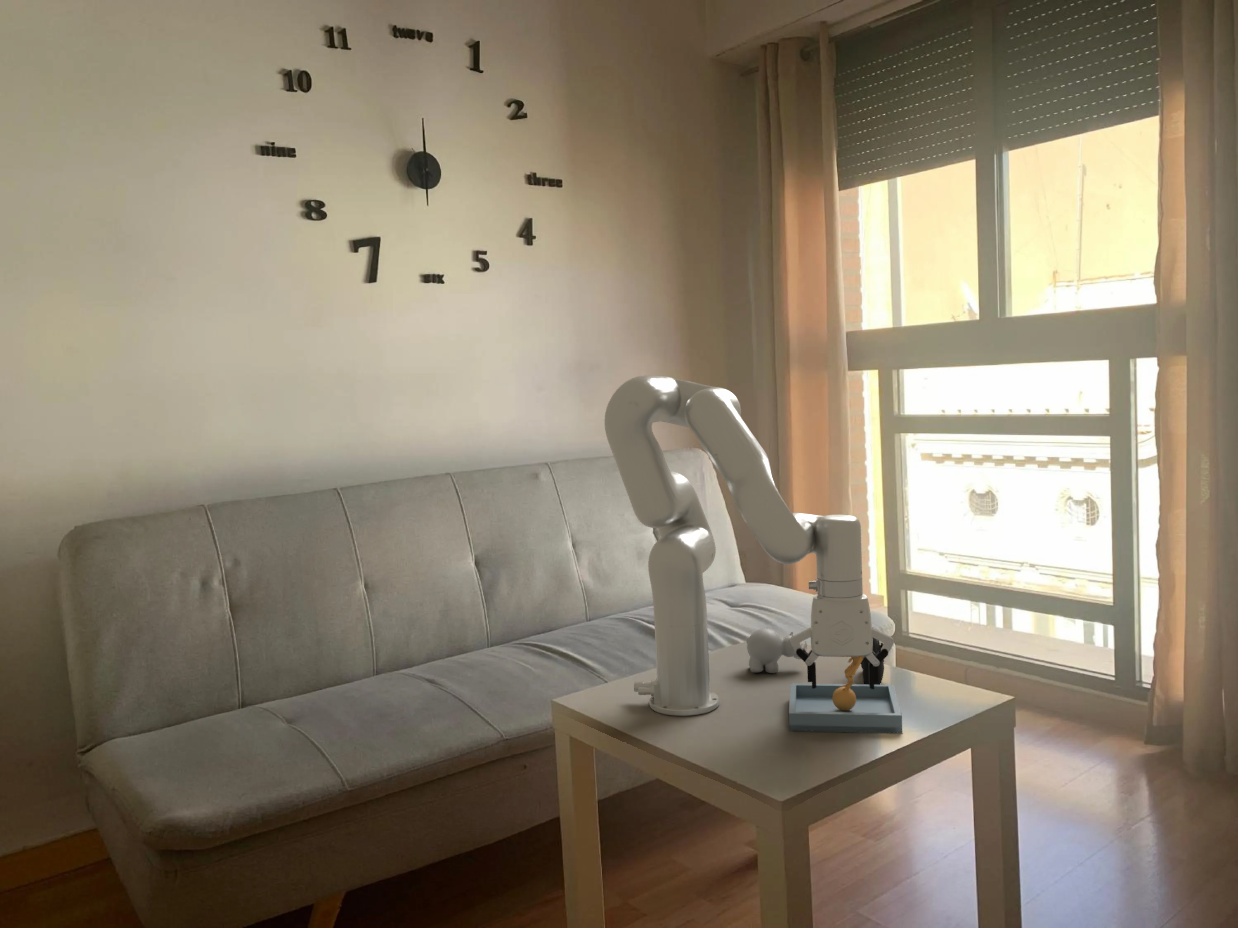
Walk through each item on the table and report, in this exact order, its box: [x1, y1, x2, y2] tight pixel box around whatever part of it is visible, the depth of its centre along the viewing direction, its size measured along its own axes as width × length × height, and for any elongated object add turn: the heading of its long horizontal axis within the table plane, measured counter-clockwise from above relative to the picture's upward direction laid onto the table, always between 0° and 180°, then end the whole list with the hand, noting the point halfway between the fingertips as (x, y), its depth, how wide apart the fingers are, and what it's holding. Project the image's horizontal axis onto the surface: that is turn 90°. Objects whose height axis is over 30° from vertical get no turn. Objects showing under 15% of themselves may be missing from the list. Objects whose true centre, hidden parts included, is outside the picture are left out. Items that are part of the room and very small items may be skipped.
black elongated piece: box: [860, 637, 885, 685], centre depth 184 cm, size 14×6×10 cm, turn 168°
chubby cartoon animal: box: [746, 627, 808, 674], centre depth 194 cm, size 7×12×8 cm, turn 84°
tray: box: [788, 683, 903, 734], centre depth 166 cm, size 18×16×3 cm
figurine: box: [832, 656, 865, 711], centre depth 166 cm, size 8×6×12 cm
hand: (842, 686), depth 166 cm, fingers open, 9 cm apart
